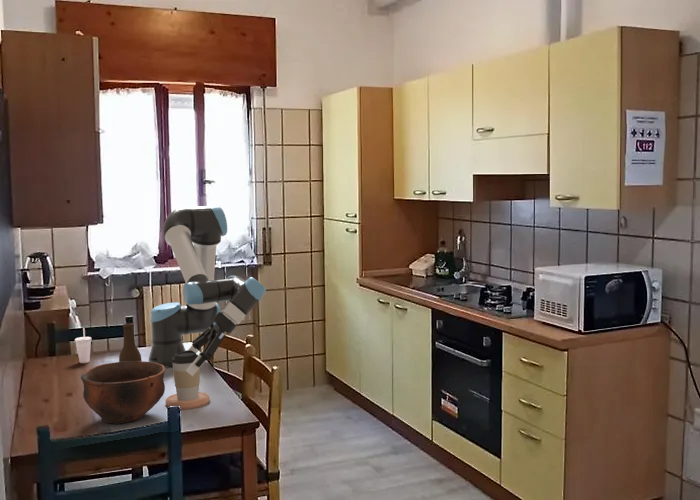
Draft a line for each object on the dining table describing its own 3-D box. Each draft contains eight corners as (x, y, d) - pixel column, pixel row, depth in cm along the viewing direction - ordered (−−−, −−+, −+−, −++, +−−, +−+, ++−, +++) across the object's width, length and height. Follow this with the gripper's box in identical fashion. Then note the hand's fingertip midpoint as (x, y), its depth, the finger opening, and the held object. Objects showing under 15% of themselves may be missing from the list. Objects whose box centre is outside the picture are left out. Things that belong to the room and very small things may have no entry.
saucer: (167, 397, 247) (167, 393, 246) (210, 394, 249) (210, 390, 249) (163, 410, 233) (163, 406, 233) (208, 407, 235) (208, 403, 235)
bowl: (160, 429, 216) (157, 379, 214) (73, 434, 214) (70, 383, 212) (173, 403, 240) (171, 358, 239) (96, 407, 239) (93, 361, 237)
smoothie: (89, 363, 294) (87, 329, 292) (73, 364, 294) (71, 329, 292) (95, 359, 300) (93, 326, 299) (79, 360, 300) (77, 326, 299)
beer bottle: (136, 387, 260) (132, 320, 257) (147, 391, 254) (144, 323, 252) (116, 392, 255) (112, 323, 252) (127, 396, 249) (123, 326, 246)
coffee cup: (195, 402, 236) (192, 356, 234) (169, 401, 238) (166, 355, 236) (206, 393, 245) (203, 349, 243) (180, 392, 246) (178, 349, 245)
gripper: (246, 332, 233) (201, 385, 229) (228, 318, 256) (187, 366, 252) (229, 317, 230) (183, 370, 226) (212, 304, 253) (170, 352, 249)
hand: (185, 368), depth 239 cm, fingers open, 13 cm apart
